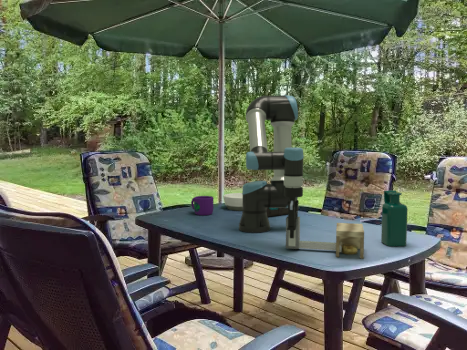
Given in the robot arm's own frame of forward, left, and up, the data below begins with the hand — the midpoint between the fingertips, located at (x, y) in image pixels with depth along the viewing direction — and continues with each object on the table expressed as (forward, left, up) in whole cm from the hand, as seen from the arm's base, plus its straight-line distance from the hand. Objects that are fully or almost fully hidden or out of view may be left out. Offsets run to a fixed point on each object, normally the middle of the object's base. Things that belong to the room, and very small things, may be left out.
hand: (292, 244), depth 175 cm
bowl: (-42, +89, -2) cm, 98 cm away
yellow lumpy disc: (+22, 0, -2) cm, 22 cm away
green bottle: (+40, +18, -2) cm, 44 cm away
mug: (-61, +67, -2) cm, 91 cm away
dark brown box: (-17, +70, -3) cm, 72 cm away
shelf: (+22, 0, -2) cm, 22 cm away
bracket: (+8, 0, -1) cm, 8 cm away
